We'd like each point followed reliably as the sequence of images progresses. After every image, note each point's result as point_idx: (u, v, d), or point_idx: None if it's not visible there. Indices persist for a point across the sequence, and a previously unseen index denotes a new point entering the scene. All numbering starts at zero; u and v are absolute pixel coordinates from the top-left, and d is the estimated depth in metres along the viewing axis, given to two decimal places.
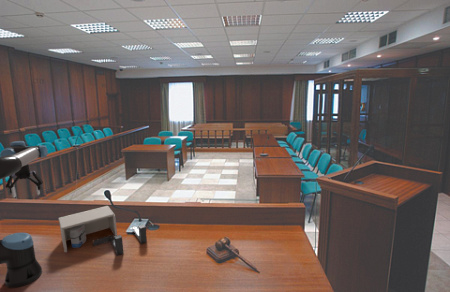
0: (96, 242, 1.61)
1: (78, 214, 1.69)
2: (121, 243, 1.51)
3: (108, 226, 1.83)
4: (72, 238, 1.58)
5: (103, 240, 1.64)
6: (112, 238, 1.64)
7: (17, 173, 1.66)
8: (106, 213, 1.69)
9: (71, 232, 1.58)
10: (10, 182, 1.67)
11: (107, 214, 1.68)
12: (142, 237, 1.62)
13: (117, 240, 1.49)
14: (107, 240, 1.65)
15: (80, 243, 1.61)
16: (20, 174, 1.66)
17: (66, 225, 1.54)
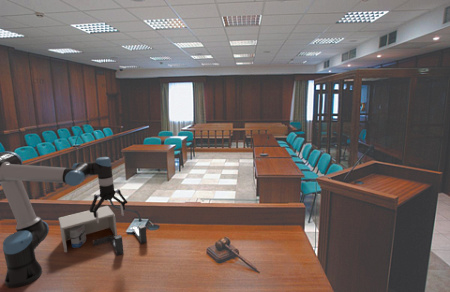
0: (96, 242, 1.61)
1: (78, 214, 1.69)
2: (121, 243, 1.51)
3: (108, 226, 1.83)
4: (72, 238, 1.58)
5: (103, 240, 1.64)
6: (112, 238, 1.64)
7: (103, 194, 1.45)
8: (106, 213, 1.69)
9: (71, 232, 1.58)
10: None
11: (107, 214, 1.68)
12: (142, 237, 1.62)
13: (117, 240, 1.49)
14: (107, 240, 1.65)
15: (80, 243, 1.61)
16: (106, 195, 1.46)
17: (66, 225, 1.54)
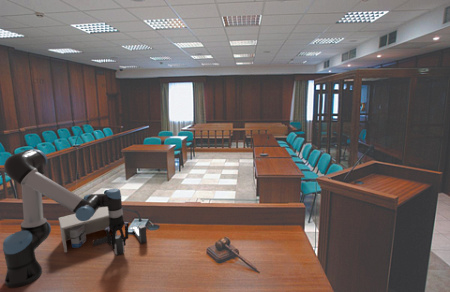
0: (96, 242, 1.61)
1: None
2: (121, 243, 1.51)
3: (108, 226, 1.83)
4: (72, 238, 1.58)
5: (103, 240, 1.64)
6: None
7: (112, 225, 1.47)
8: (106, 213, 1.69)
9: (71, 232, 1.58)
10: (109, 237, 1.48)
11: (107, 214, 1.68)
12: (142, 237, 1.62)
13: (117, 240, 1.49)
14: (107, 240, 1.65)
15: (80, 243, 1.61)
16: (115, 226, 1.48)
17: (66, 225, 1.54)
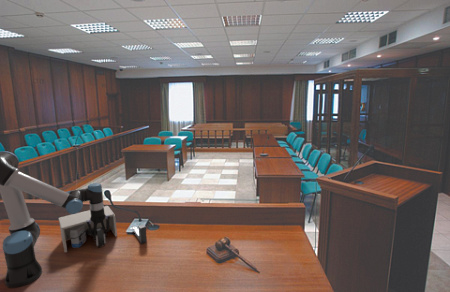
0: None
1: (78, 214, 1.69)
2: (102, 235, 1.59)
3: None
4: (72, 238, 1.58)
5: (86, 233, 1.72)
6: None
7: (93, 218, 1.55)
8: (106, 213, 1.69)
9: (71, 232, 1.58)
10: None
11: (107, 214, 1.68)
12: (142, 237, 1.62)
13: (98, 232, 1.57)
14: None
15: (80, 243, 1.61)
16: (96, 218, 1.56)
17: (66, 225, 1.54)
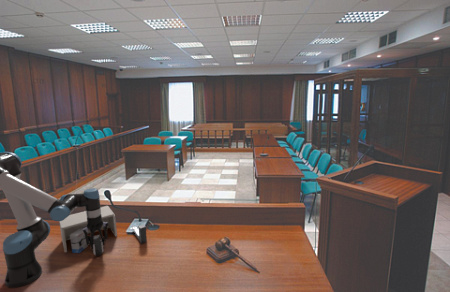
0: None
1: (78, 214, 1.69)
2: (100, 243, 1.49)
3: (108, 226, 1.83)
4: (72, 243, 1.53)
5: None
6: None
7: (90, 225, 1.45)
8: (106, 213, 1.69)
9: (71, 237, 1.52)
10: (87, 238, 1.47)
11: (107, 214, 1.68)
12: (142, 237, 1.62)
13: (95, 240, 1.48)
14: None
15: (80, 249, 1.55)
16: (93, 226, 1.46)
17: (66, 225, 1.54)
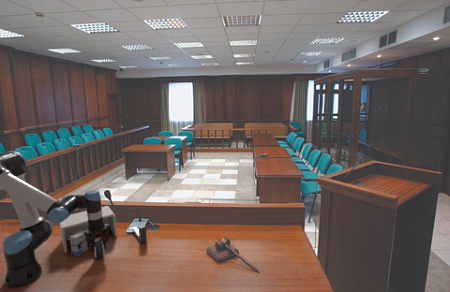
0: None
1: (78, 214, 1.69)
2: (101, 246, 1.47)
3: None
4: (72, 245, 1.51)
5: None
6: None
7: (91, 228, 1.43)
8: (106, 213, 1.69)
9: (71, 239, 1.50)
10: (88, 240, 1.44)
11: (107, 214, 1.68)
12: (142, 237, 1.62)
13: (97, 243, 1.45)
14: None
15: (79, 251, 1.52)
16: (94, 228, 1.44)
17: (66, 225, 1.54)
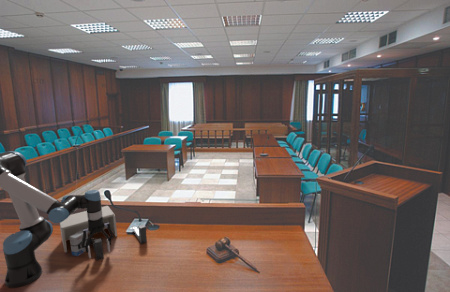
0: None
1: (78, 214, 1.69)
2: (101, 247, 1.47)
3: None
4: (71, 245, 1.51)
5: None
6: (94, 241, 1.60)
7: (91, 228, 1.43)
8: (106, 213, 1.69)
9: (70, 239, 1.50)
10: (84, 240, 1.43)
11: (107, 214, 1.68)
12: (142, 237, 1.62)
13: (97, 244, 1.45)
14: (89, 243, 1.62)
15: (79, 252, 1.52)
16: (95, 228, 1.44)
17: (66, 225, 1.54)
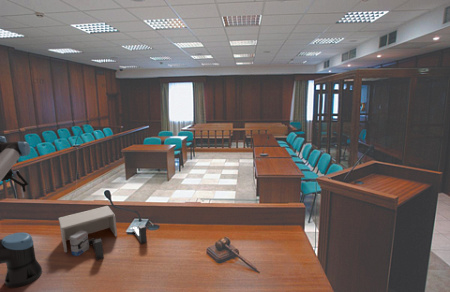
0: None
1: (78, 214, 1.69)
2: (101, 247, 1.47)
3: (108, 226, 1.83)
4: (71, 245, 1.51)
5: None
6: (94, 241, 1.60)
7: None
8: (106, 213, 1.69)
9: (70, 239, 1.50)
10: None
11: (107, 214, 1.68)
12: (142, 237, 1.62)
13: (97, 244, 1.45)
14: (89, 243, 1.62)
15: (79, 252, 1.52)
16: None
17: (66, 225, 1.54)
